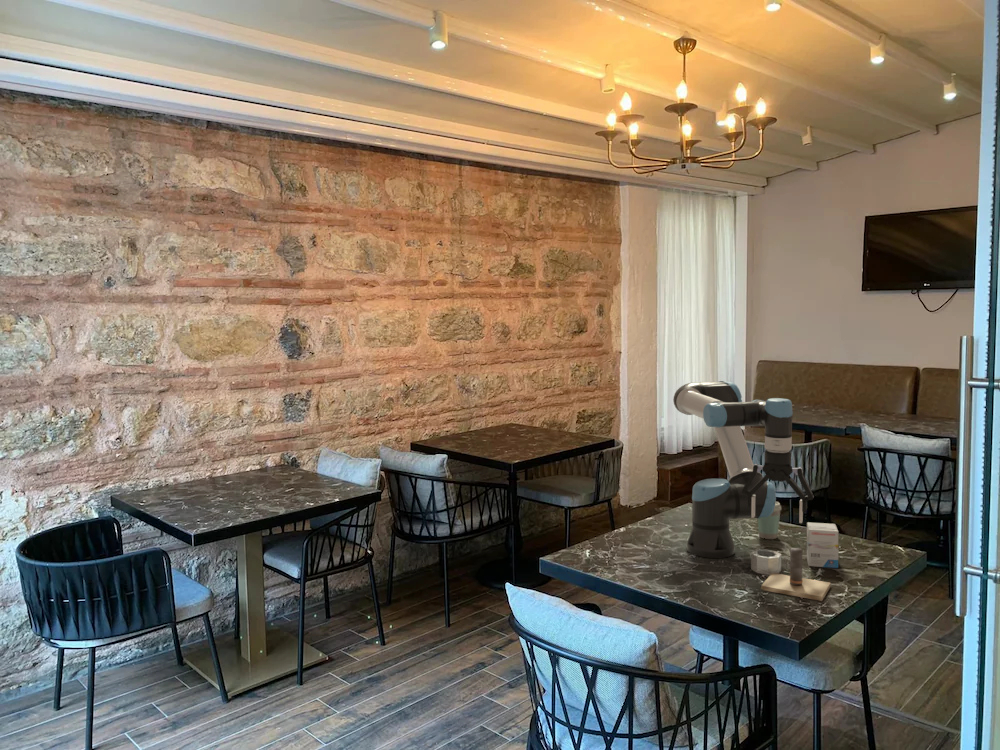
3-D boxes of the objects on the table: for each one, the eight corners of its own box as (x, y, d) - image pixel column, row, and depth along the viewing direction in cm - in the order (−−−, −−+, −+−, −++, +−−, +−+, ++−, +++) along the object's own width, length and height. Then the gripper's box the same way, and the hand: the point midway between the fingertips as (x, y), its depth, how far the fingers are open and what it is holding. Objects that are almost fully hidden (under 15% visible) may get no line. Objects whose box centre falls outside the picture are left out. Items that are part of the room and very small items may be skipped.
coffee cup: (785, 540, 252) (785, 505, 251) (759, 540, 252) (760, 506, 251) (776, 532, 260) (776, 499, 259) (751, 533, 260) (751, 499, 259)
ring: (749, 571, 222) (749, 555, 222) (756, 563, 229) (756, 548, 229) (776, 576, 218) (776, 559, 217) (783, 568, 224) (783, 552, 224)
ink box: (835, 559, 231) (836, 523, 230) (838, 568, 223) (839, 531, 222) (806, 557, 234) (806, 521, 233) (807, 566, 226) (808, 529, 225)
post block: (761, 589, 208) (761, 550, 207) (772, 576, 218) (772, 539, 217) (822, 601, 199) (822, 560, 198) (830, 586, 209) (831, 548, 208)
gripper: (732, 449, 223) (732, 517, 225) (822, 455, 212) (820, 527, 214) (736, 445, 230) (736, 511, 232) (824, 450, 218) (822, 520, 221)
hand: (776, 519), depth 223 cm, fingers open, 13 cm apart
